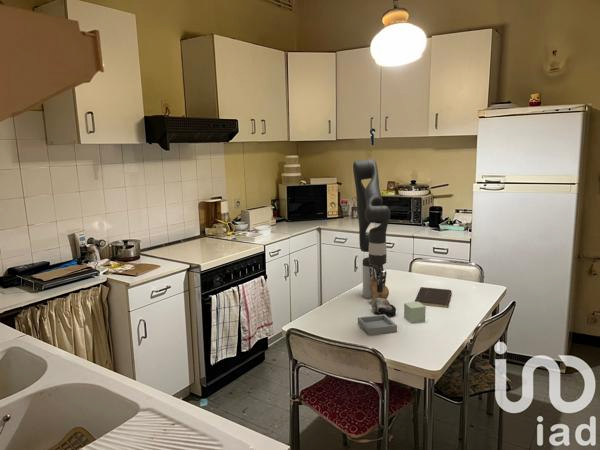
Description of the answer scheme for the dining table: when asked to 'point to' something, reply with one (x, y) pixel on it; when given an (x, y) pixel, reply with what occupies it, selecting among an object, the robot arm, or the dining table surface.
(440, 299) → the hardcover book
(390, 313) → the caster wheel
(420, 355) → the dining table surface
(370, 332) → the grey tray
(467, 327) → the dining table surface
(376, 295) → the natural sponge
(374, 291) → the walnut block
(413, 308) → the sage block
